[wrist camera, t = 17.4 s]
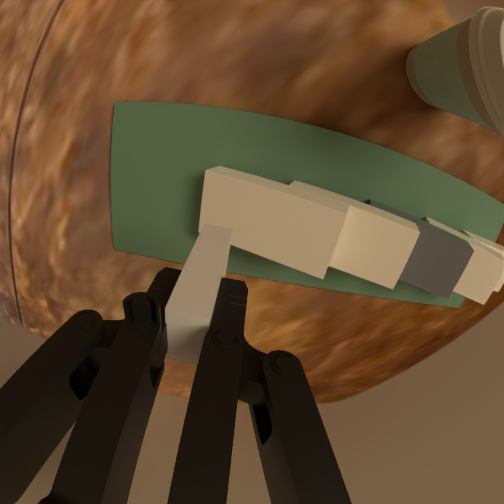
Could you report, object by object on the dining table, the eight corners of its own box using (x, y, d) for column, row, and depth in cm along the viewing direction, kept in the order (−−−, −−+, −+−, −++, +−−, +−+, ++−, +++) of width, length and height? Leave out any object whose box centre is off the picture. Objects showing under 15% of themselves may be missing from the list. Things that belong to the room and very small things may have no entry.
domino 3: (407, 272, 22) (483, 304, 19) (430, 223, 19) (507, 263, 17) (405, 262, 24) (478, 294, 21) (425, 216, 21) (500, 254, 19)
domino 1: (198, 232, 21) (323, 279, 19) (205, 170, 19) (346, 213, 16) (211, 223, 23) (327, 266, 20) (219, 165, 20) (348, 205, 18)
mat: (115, 247, 25) (113, 249, 25) (117, 101, 18) (114, 101, 18) (457, 306, 27) (458, 308, 26) (507, 206, 20) (509, 207, 19)
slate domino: (349, 260, 22) (447, 299, 19) (370, 205, 19) (474, 250, 17) (351, 250, 23) (443, 287, 21) (370, 199, 21) (467, 241, 18)
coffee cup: (459, 137, 17) (558, 180, 7) (382, 100, 17) (485, 111, 7) (472, 58, 13) (569, 64, 3) (396, 13, 13) (487, -28, 2)
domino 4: (451, 281, 22) (498, 291, 23) (473, 239, 20) (517, 257, 20) (443, 271, 24) (490, 282, 24) (462, 229, 21) (508, 248, 22)
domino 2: (273, 246, 21) (392, 289, 19) (288, 185, 19) (420, 232, 17) (280, 236, 23) (391, 276, 21) (294, 180, 21) (415, 223, 18)
